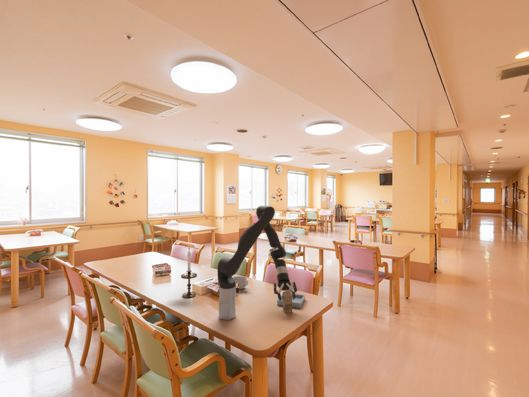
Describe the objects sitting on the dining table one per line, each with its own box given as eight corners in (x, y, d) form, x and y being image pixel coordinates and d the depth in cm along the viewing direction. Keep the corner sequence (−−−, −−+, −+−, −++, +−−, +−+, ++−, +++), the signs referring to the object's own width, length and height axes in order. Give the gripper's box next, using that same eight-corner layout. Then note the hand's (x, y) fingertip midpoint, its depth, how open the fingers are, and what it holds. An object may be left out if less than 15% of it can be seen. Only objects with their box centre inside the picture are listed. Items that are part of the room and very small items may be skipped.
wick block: (292, 312, 157) (292, 291, 157) (284, 313, 156) (284, 291, 156) (290, 309, 161) (290, 288, 161) (283, 310, 161) (283, 289, 161)
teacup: (229, 287, 200) (229, 277, 200) (241, 284, 207) (241, 274, 207) (240, 292, 190) (240, 281, 190) (252, 289, 197) (252, 278, 197)
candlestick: (192, 299, 178) (192, 247, 177) (177, 297, 180) (177, 246, 180) (199, 293, 188) (199, 244, 188) (185, 292, 190) (185, 243, 190)
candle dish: (300, 308, 163) (300, 303, 163) (277, 304, 168) (277, 300, 168) (305, 299, 177) (305, 294, 177) (283, 296, 182) (283, 292, 182)
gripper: (272, 272, 167) (276, 297, 155) (294, 271, 169) (300, 295, 158) (270, 278, 172) (274, 303, 161) (291, 277, 175) (297, 301, 163)
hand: (287, 299), depth 159 cm, fingers open, 8 cm apart
